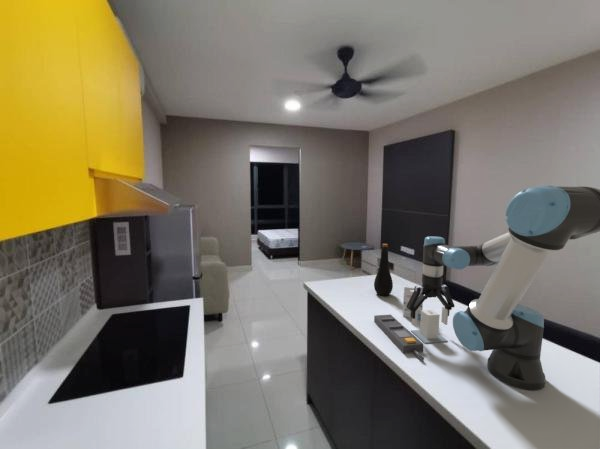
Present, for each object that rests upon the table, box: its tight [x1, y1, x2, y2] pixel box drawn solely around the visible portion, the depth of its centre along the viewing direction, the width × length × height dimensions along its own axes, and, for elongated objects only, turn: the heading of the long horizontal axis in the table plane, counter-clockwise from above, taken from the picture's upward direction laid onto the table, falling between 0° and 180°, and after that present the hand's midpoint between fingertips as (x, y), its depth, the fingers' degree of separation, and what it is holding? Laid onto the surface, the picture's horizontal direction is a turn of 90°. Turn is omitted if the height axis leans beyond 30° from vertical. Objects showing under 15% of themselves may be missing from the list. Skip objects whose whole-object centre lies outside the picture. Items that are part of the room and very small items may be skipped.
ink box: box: [402, 286, 424, 321], centre depth 135 cm, size 8×5×15 cm, turn 62°
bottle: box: [373, 243, 394, 298], centre depth 164 cm, size 11×11×30 cm
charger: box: [419, 309, 440, 339], centre depth 116 cm, size 5×5×10 cm
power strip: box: [373, 314, 425, 362], centre depth 115 cm, size 32×8×4 cm, turn 9°
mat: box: [410, 329, 448, 345], centre depth 117 cm, size 10×10×1 cm
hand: (429, 324), depth 116 cm, fingers open, 13 cm apart
